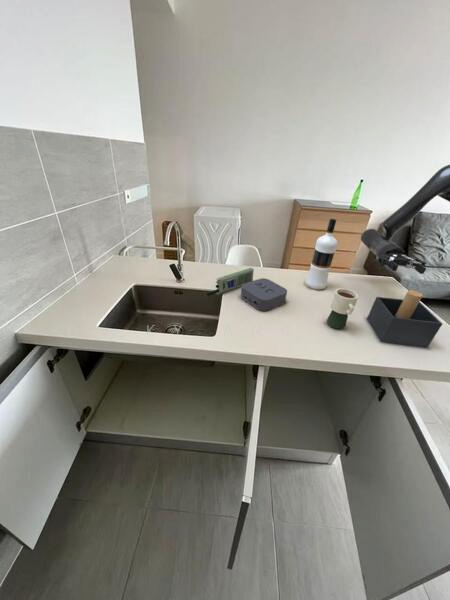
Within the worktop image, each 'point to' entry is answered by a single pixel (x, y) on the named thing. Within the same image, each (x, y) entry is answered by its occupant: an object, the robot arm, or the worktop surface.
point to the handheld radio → (232, 281)
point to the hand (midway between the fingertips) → (409, 269)
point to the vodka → (322, 259)
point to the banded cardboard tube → (408, 304)
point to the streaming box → (263, 294)
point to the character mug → (342, 307)
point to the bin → (402, 323)
